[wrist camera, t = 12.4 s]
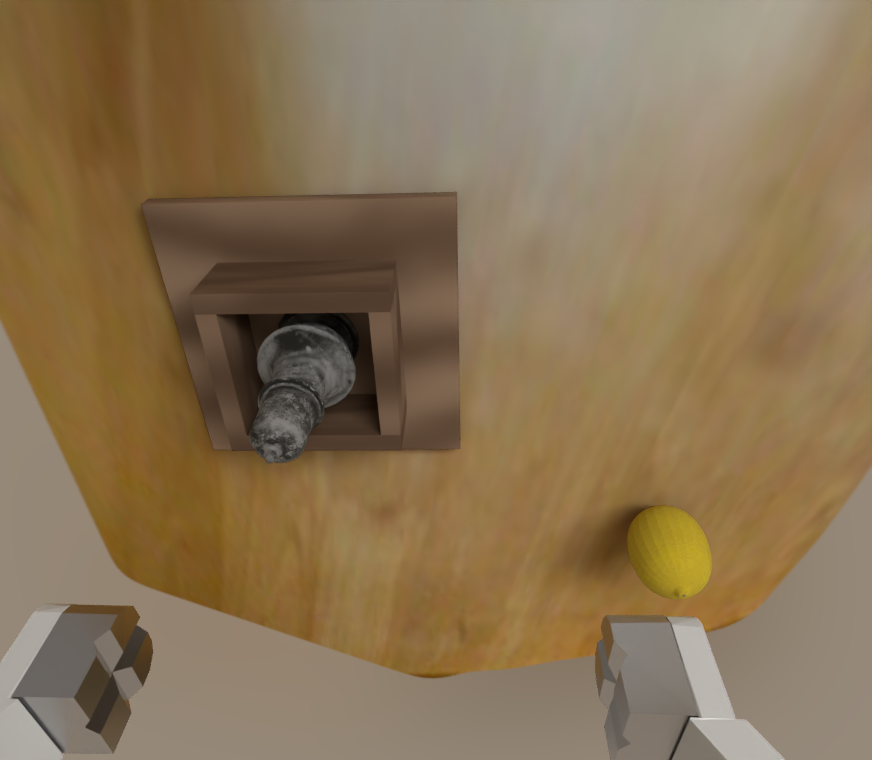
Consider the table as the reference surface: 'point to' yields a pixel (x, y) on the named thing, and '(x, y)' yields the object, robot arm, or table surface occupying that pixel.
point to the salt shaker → (301, 380)
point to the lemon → (669, 552)
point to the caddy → (319, 306)
